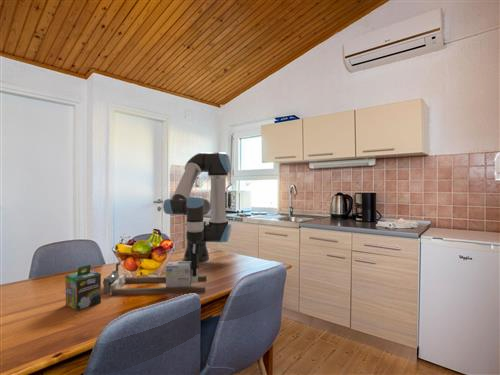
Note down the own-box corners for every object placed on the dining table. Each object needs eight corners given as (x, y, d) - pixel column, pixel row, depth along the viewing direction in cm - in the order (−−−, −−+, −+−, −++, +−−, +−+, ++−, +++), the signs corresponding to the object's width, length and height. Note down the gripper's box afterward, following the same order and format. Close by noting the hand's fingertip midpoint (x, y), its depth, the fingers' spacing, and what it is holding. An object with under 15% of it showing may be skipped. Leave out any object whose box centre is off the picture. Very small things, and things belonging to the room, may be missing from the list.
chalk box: (89, 297, 116) (89, 260, 116) (101, 302, 111) (101, 264, 110) (64, 305, 108) (64, 266, 108) (76, 311, 103) (76, 270, 103)
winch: (115, 280, 136) (115, 262, 136) (123, 280, 136) (123, 262, 136) (101, 293, 120) (101, 272, 120) (110, 292, 120) (110, 272, 120)
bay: (123, 281, 134) (123, 273, 134) (206, 279, 138) (206, 271, 138) (110, 295, 118) (110, 285, 118) (205, 292, 123) (205, 282, 122)
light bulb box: (191, 283, 132) (192, 260, 132) (190, 289, 125) (190, 264, 125) (168, 284, 131) (168, 261, 131) (165, 290, 124) (165, 265, 124)
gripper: (187, 228, 136) (187, 278, 136) (185, 233, 123) (184, 288, 123) (203, 228, 136) (203, 277, 137) (202, 233, 124) (202, 287, 124)
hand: (194, 282), depth 130 cm, fingers closed
